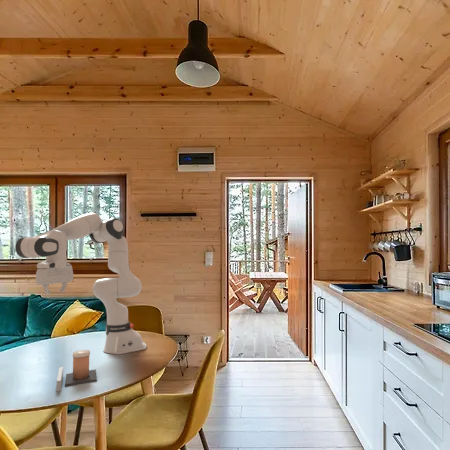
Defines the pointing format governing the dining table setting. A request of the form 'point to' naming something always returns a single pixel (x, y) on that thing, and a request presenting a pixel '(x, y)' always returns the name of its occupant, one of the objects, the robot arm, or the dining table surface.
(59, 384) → the divider
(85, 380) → the plate
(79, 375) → the jar
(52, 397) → the dining table surface
